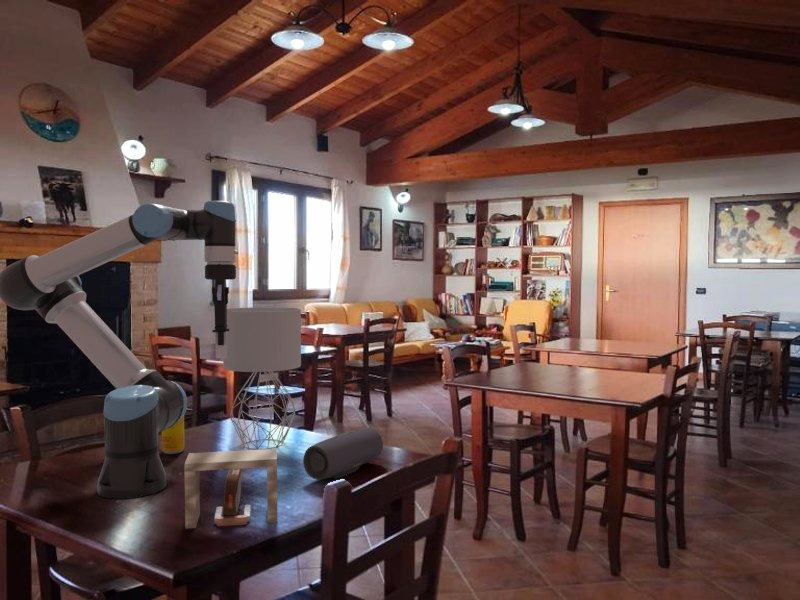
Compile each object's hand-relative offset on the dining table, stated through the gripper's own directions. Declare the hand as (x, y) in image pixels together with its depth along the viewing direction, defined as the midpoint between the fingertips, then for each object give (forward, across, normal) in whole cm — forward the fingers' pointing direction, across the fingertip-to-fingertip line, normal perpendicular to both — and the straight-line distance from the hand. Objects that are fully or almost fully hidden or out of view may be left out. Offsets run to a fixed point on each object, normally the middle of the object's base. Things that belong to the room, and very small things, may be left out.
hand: (221, 357), depth 167 cm
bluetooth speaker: (+30, -5, -30) cm, 43 cm away
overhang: (+29, -32, -4) cm, 44 cm away
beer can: (+30, +24, +15) cm, 41 cm away
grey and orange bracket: (+29, -32, -4) cm, 44 cm away
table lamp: (+30, +27, -10) cm, 41 cm away
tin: (+30, -26, -4) cm, 40 cm away
